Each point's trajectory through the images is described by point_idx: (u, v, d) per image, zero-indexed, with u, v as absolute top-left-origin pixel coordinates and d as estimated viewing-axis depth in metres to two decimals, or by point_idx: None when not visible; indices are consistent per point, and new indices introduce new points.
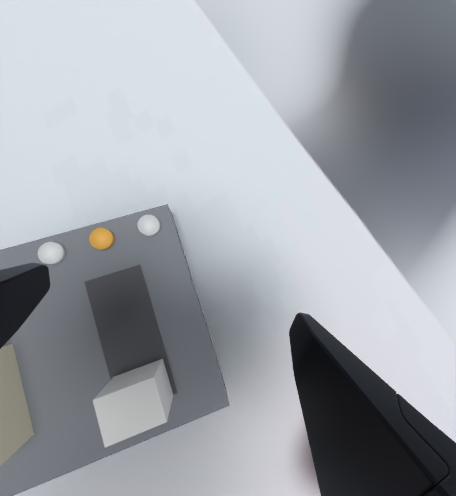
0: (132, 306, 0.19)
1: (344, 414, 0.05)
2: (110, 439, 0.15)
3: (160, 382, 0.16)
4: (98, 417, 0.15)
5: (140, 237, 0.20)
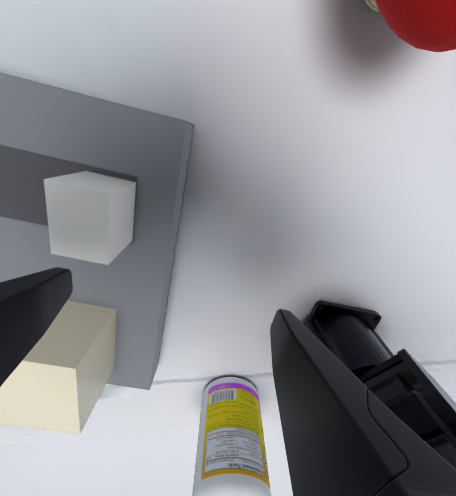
0: (6, 172, 0.14)
1: (314, 410, 0.05)
2: (101, 256, 0.12)
3: (76, 180, 0.12)
4: (73, 256, 0.12)
5: None
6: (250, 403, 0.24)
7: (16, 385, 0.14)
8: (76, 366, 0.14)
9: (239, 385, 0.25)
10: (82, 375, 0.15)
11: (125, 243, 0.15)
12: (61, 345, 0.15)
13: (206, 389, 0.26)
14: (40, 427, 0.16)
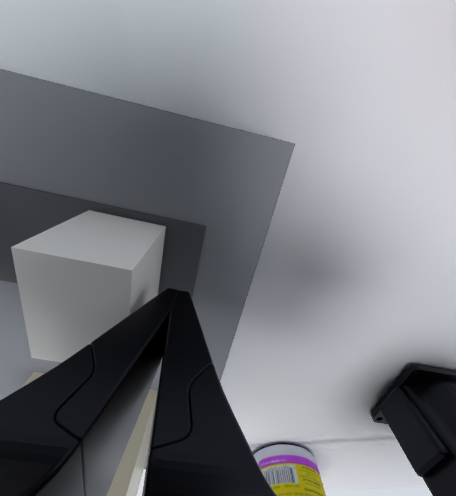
0: (8, 220, 0.09)
1: (158, 386, 0.05)
2: None
3: (72, 238, 0.07)
4: None
5: None
6: (314, 486, 0.19)
7: None
8: None
9: (297, 458, 0.20)
10: None
11: None
12: None
13: None
14: None
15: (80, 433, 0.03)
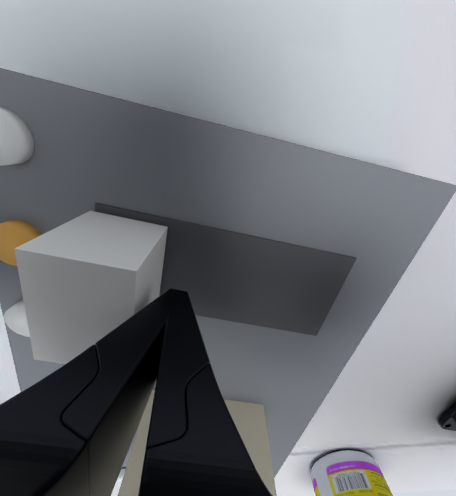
0: (172, 253, 0.10)
1: None
2: None
3: (75, 239, 0.07)
4: None
5: (31, 171, 0.08)
6: (386, 490, 0.20)
7: None
8: None
9: (365, 464, 0.21)
10: None
11: None
12: None
13: (320, 466, 0.22)
14: None
15: (86, 434, 0.03)
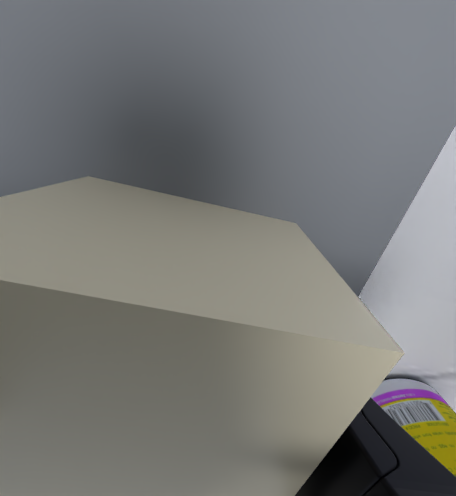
0: None
1: None
2: None
3: None
4: None
5: None
6: None
7: (117, 420, 0.04)
8: (392, 343, 0.03)
9: (428, 393, 0.14)
10: None
11: None
12: (266, 274, 0.04)
13: None
14: None
15: None
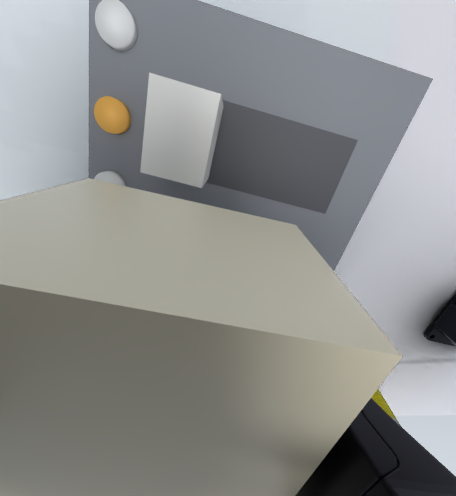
0: (223, 131, 0.13)
1: None
2: (196, 177, 0.11)
3: None
4: (164, 176, 0.11)
5: (131, 58, 0.12)
6: (377, 391, 0.23)
7: (118, 422, 0.04)
8: (391, 346, 0.03)
9: None
10: None
11: (207, 176, 0.13)
12: (266, 276, 0.04)
13: None
14: None
15: None
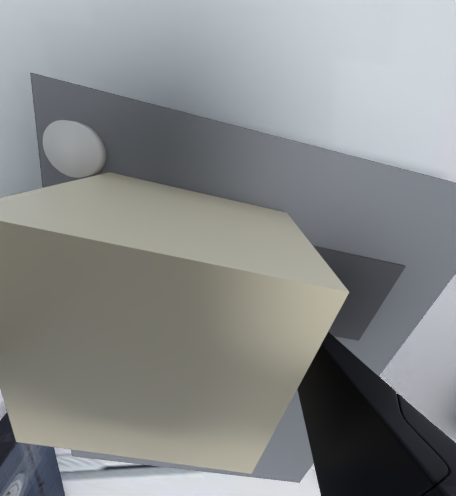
0: None
1: (344, 414, 0.05)
2: None
3: None
4: None
5: None
6: None
7: (142, 349, 0.05)
8: (342, 287, 0.04)
9: None
10: None
11: None
12: (254, 243, 0.05)
13: None
14: (166, 458, 0.07)
15: None
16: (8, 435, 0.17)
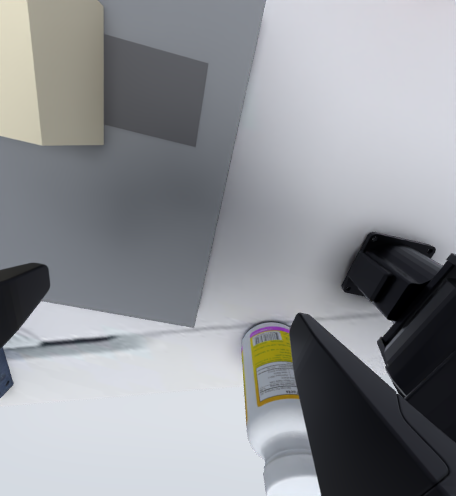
0: None
1: (344, 414, 0.05)
2: None
3: None
4: None
5: None
6: None
7: None
8: None
9: (282, 328, 0.24)
10: None
11: None
12: None
13: (246, 335, 0.25)
14: None
15: None
16: None
